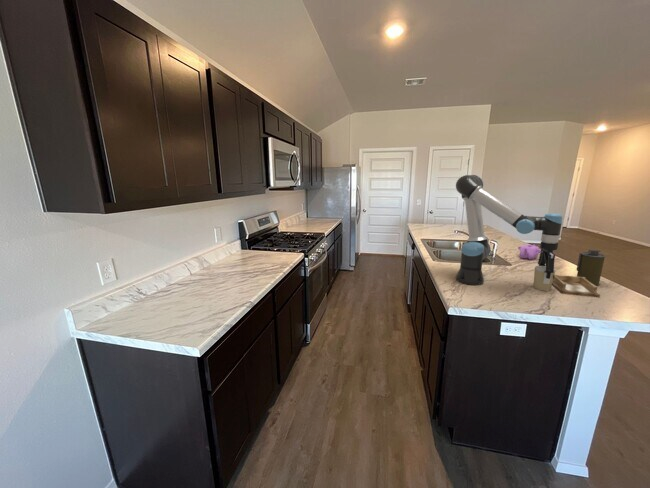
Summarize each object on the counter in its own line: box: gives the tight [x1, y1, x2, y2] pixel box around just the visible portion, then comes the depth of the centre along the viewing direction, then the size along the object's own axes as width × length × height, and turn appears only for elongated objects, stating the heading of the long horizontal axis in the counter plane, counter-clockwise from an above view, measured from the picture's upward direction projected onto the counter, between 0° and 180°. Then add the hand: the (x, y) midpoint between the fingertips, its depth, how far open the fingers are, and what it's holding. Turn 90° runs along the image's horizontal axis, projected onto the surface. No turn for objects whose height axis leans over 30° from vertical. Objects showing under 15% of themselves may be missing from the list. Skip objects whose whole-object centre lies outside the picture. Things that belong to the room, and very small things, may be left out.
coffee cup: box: [533, 265, 557, 292], centre depth 156 cm, size 9×9×12 cm
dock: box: [552, 274, 601, 298], centre depth 154 cm, size 16×18×5 cm
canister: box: [576, 248, 606, 287], centre depth 162 cm, size 11×10×20 cm
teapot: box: [517, 244, 541, 261], centre depth 213 cm, size 15×13×11 cm
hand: (543, 280), depth 157 cm, fingers closed on coffee cup, 9 cm apart
